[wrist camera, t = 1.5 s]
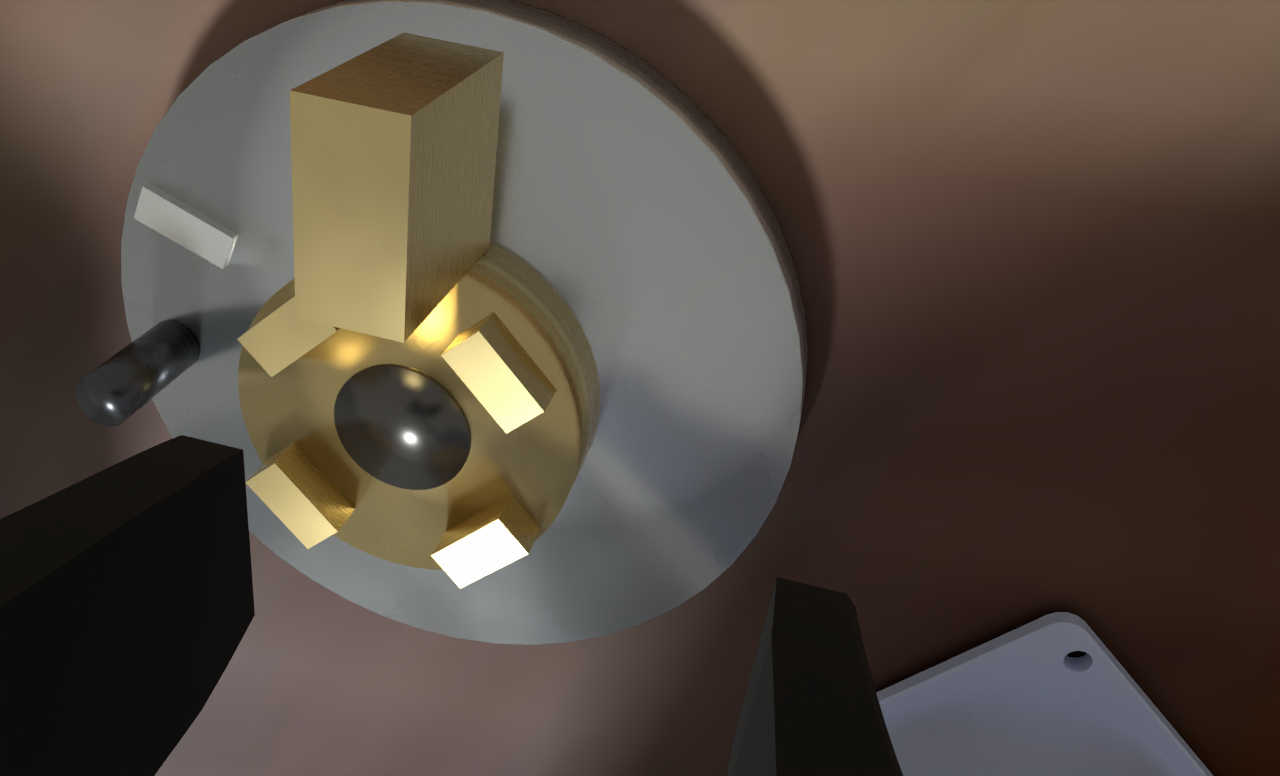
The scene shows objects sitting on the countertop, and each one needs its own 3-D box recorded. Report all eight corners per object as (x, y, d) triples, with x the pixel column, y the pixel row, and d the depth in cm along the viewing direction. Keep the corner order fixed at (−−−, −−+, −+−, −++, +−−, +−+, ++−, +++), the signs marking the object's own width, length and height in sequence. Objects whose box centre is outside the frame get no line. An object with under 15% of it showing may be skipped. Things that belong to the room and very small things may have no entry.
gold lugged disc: (766, 350, 18) (736, 474, 15) (448, 563, 22) (368, 699, 19) (452, -16, 16) (338, 36, 13) (163, 285, 20) (21, 383, 17)
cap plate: (954, 416, 20) (962, 530, 17) (478, 689, 26) (421, 809, 23) (453, -196, 17) (353, -189, 14) (44, 279, 23) (-88, 356, 20)
